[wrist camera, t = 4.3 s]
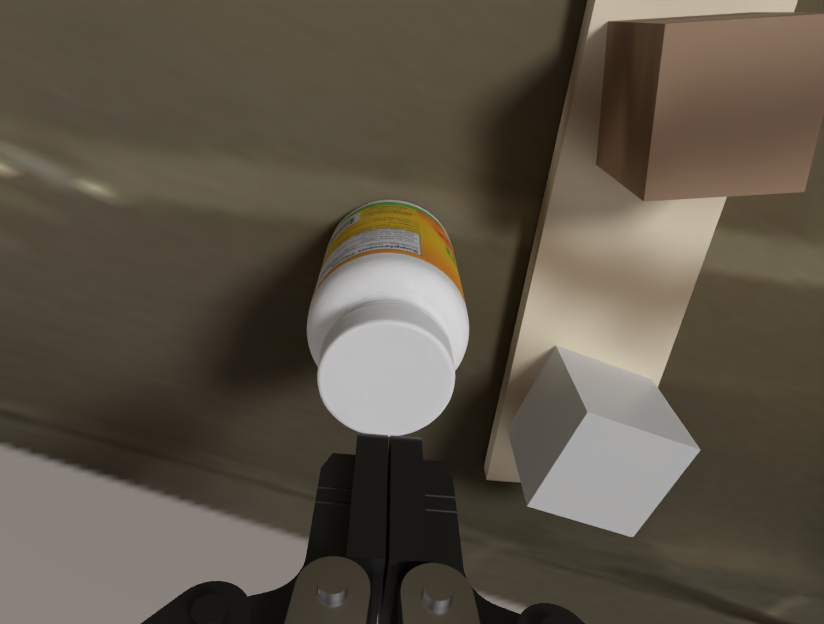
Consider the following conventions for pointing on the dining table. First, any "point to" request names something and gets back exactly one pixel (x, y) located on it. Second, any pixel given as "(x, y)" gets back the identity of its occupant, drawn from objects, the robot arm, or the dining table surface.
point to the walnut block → (712, 104)
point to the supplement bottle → (388, 319)
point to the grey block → (597, 443)
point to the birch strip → (605, 241)
